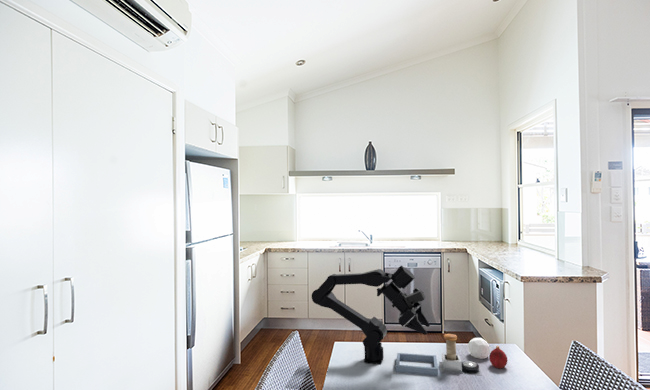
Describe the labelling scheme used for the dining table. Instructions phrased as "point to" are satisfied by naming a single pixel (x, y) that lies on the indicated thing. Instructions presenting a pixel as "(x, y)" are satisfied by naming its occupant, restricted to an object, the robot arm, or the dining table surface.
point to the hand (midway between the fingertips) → (427, 329)
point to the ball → (478, 348)
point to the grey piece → (458, 366)
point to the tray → (416, 368)
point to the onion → (498, 358)
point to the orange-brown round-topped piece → (450, 346)
